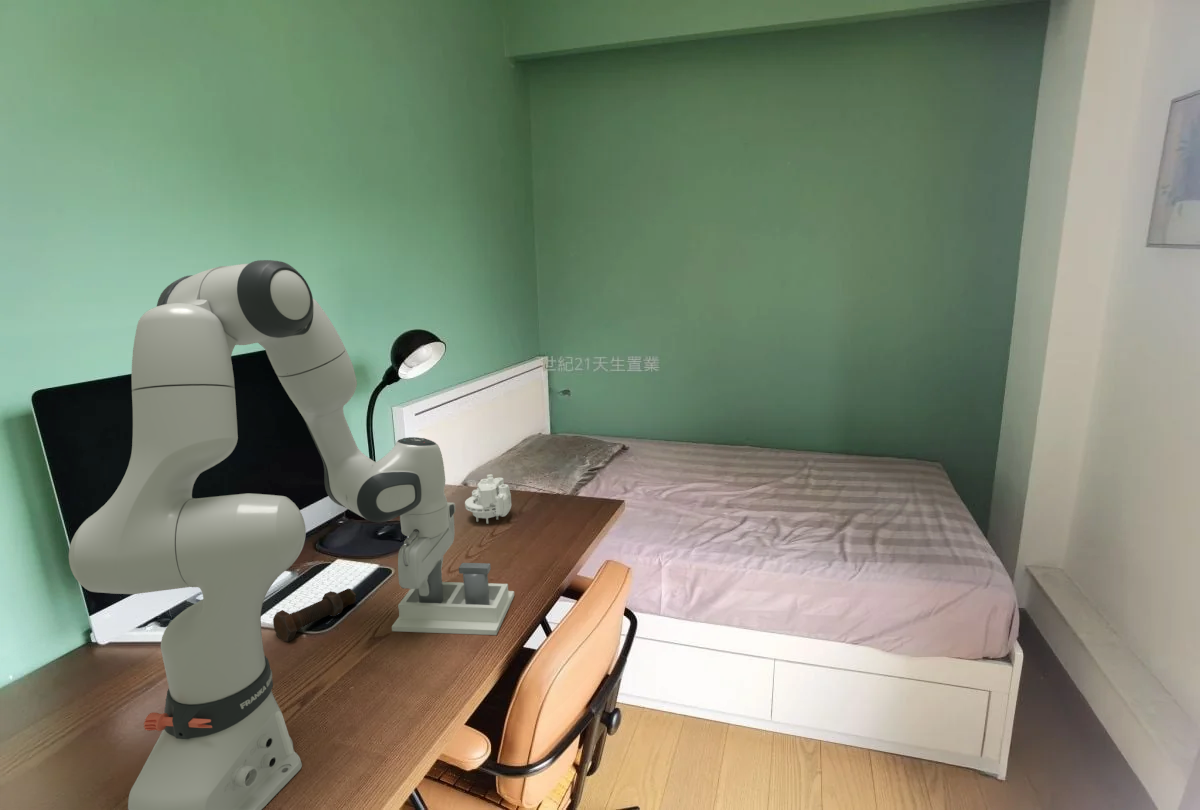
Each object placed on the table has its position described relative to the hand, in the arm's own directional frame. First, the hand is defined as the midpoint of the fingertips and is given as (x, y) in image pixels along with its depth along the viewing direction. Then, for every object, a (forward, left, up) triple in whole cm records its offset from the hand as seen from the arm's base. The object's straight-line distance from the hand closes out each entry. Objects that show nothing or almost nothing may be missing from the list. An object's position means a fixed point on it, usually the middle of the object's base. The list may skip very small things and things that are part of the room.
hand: (431, 586), depth 124 cm
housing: (0, -5, -6) cm, 7 cm away
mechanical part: (+45, +1, -6) cm, 45 cm away
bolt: (-4, +21, -6) cm, 22 cm away
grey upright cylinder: (0, 0, -3) cm, 3 cm away
